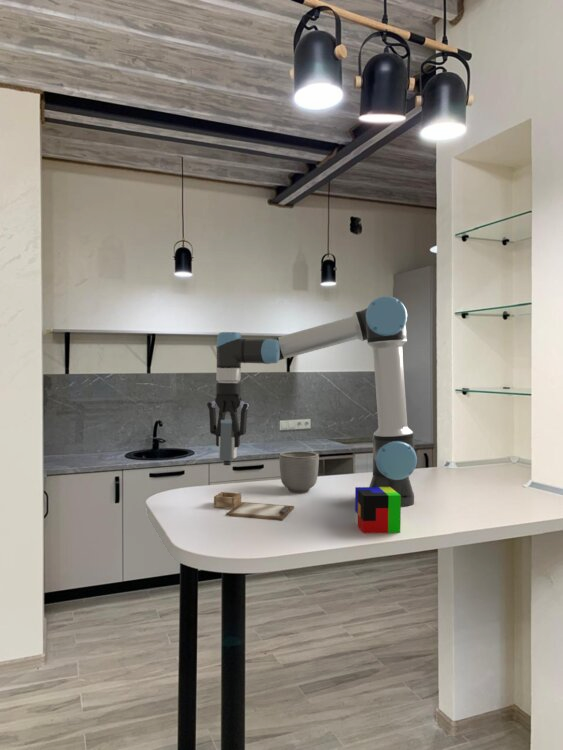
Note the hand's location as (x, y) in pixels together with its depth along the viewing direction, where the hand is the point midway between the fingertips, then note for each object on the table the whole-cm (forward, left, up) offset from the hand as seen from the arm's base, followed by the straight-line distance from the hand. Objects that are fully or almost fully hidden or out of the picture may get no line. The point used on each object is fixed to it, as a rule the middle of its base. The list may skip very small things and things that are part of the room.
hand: (227, 457), depth 171 cm
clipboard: (-12, +3, -15) cm, 20 cm away
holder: (0, 0, -15) cm, 15 cm away
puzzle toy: (-47, +9, -16) cm, 51 cm away
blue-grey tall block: (0, 0, -2) cm, 2 cm away
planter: (-17, -26, -15) cm, 35 cm away
